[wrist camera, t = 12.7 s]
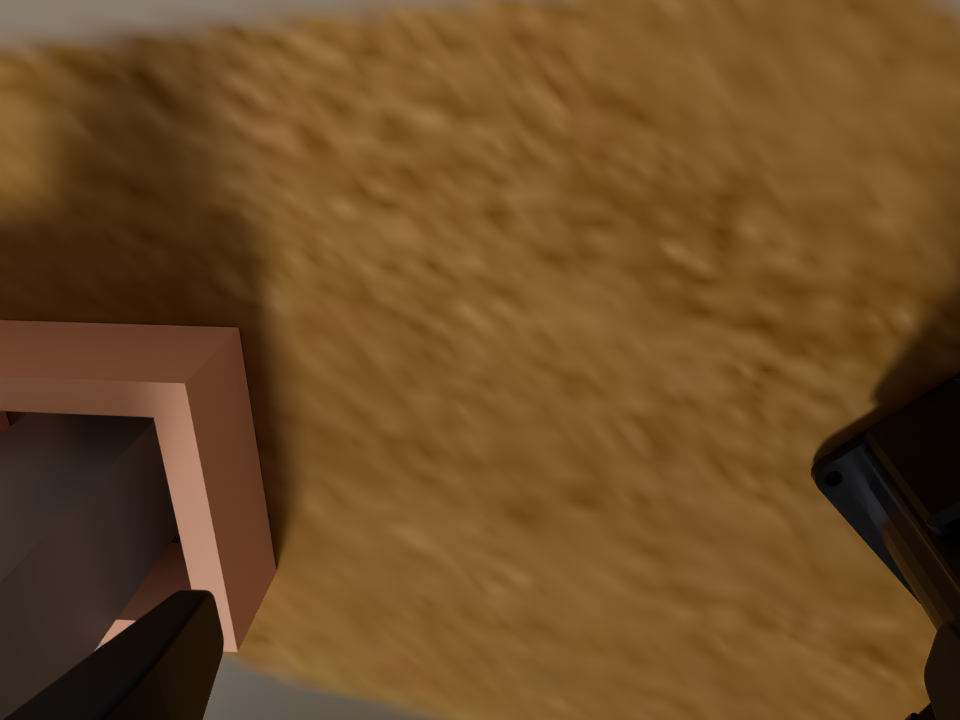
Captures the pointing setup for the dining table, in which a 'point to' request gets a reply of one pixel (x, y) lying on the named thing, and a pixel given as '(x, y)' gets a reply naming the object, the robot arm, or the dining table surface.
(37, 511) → the plug
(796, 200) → the dining table surface
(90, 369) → the socket
